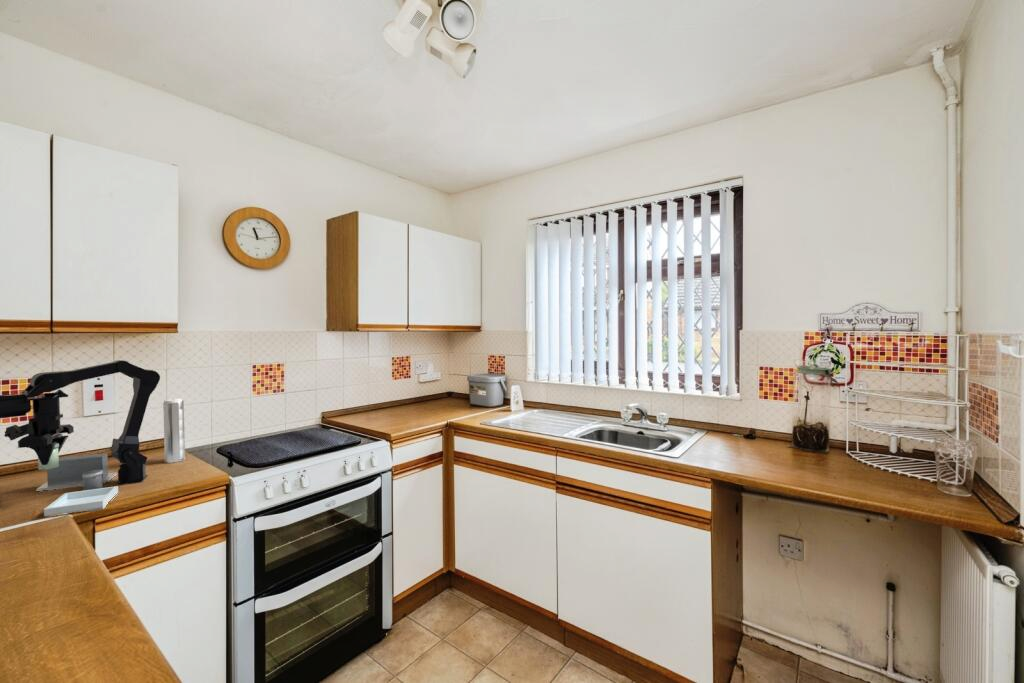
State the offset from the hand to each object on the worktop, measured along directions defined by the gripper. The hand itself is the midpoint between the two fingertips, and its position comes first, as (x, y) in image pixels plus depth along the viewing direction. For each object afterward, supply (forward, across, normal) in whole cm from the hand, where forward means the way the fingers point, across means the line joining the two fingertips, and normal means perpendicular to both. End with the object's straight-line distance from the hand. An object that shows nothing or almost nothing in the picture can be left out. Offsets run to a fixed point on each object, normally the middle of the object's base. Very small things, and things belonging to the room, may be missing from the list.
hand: (48, 462), depth 135 cm
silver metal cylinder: (+12, -32, +25) cm, 43 cm away
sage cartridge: (+2, 0, 0) cm, 2 cm away
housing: (+12, -16, +2) cm, 20 cm away
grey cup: (+12, -1, +10) cm, 16 cm away
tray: (+12, +10, +11) cm, 19 cm away
